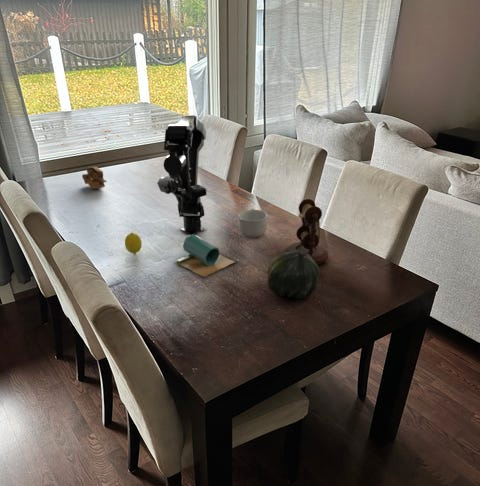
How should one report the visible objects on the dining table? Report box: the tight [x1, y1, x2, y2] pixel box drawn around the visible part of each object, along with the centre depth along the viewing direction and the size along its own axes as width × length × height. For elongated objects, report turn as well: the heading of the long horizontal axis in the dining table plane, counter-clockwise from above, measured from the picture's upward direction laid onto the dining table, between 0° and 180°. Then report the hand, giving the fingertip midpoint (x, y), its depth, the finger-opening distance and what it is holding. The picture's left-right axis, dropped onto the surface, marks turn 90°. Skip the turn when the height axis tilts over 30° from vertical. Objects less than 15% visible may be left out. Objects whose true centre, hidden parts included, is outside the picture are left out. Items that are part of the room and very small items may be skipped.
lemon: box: [124, 232, 143, 255], centre depth 148 cm, size 6×6×8 cm
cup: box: [182, 234, 221, 266], centre depth 144 cm, size 6×6×11 cm
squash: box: [267, 251, 320, 300], centre depth 126 cm, size 14×15×15 cm
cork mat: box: [176, 254, 236, 278], centre depth 144 cm, size 13×14×1 cm
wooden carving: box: [81, 166, 107, 190], centre depth 205 cm, size 16×5×10 cm, turn 55°
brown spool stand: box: [283, 198, 329, 265], centre depth 143 cm, size 15×15×20 cm
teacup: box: [237, 207, 269, 238], centre depth 164 cm, size 14×11×8 cm
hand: (183, 210), depth 149 cm, fingers closed
